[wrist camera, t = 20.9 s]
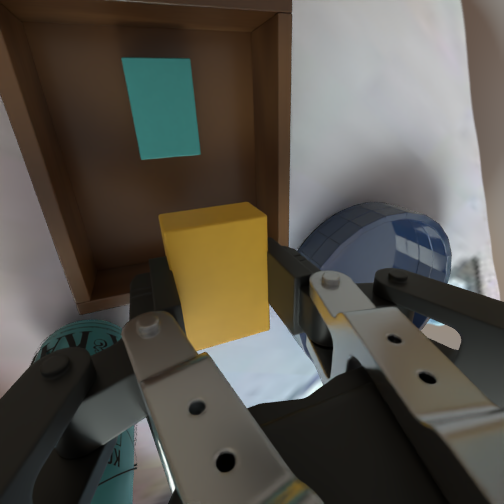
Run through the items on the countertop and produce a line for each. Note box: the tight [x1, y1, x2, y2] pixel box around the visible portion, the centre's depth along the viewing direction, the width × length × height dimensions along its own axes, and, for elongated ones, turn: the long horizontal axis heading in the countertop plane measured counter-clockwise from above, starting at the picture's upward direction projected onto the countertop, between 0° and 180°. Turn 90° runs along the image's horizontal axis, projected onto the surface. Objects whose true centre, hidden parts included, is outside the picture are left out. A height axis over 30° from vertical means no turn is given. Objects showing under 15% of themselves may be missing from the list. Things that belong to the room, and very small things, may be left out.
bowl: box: [288, 202, 452, 363], centre depth 29 cm, size 17×17×4 cm
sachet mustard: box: [158, 202, 270, 351], centre depth 11 cm, size 5×4×2 cm
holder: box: [0, 0, 292, 315], centre depth 18 cm, size 16×14×5 cm
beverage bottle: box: [31, 320, 137, 504], centre depth 14 cm, size 6×7×20 cm
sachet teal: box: [121, 57, 201, 160], centre depth 17 cm, size 5×4×2 cm
